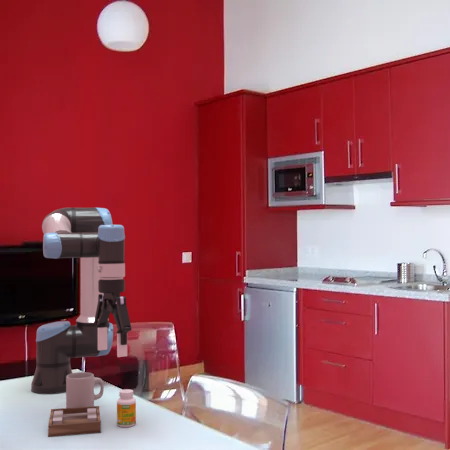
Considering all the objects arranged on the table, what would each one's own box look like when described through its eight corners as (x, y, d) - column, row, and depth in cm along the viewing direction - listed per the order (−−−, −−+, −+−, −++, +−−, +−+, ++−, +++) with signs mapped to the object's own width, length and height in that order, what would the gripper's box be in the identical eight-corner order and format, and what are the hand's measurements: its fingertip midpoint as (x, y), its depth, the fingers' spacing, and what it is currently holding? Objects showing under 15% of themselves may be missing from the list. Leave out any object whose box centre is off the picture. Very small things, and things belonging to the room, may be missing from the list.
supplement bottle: (120, 428, 171) (120, 394, 171) (114, 423, 176) (114, 390, 176) (138, 425, 173) (138, 391, 173) (132, 420, 178) (132, 387, 178)
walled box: (51, 419, 180) (51, 408, 180) (99, 415, 183) (99, 404, 183) (48, 436, 164) (48, 424, 164) (100, 432, 167) (100, 420, 167)
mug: (71, 416, 183) (71, 379, 183) (62, 409, 190) (62, 374, 190) (108, 409, 190) (108, 374, 190) (98, 403, 197) (98, 369, 197)
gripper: (82, 277, 181) (83, 348, 180) (117, 280, 161) (118, 361, 160) (106, 276, 185) (106, 345, 185) (143, 279, 165) (143, 357, 164)
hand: (112, 353), depth 172 cm, fingers open, 13 cm apart
